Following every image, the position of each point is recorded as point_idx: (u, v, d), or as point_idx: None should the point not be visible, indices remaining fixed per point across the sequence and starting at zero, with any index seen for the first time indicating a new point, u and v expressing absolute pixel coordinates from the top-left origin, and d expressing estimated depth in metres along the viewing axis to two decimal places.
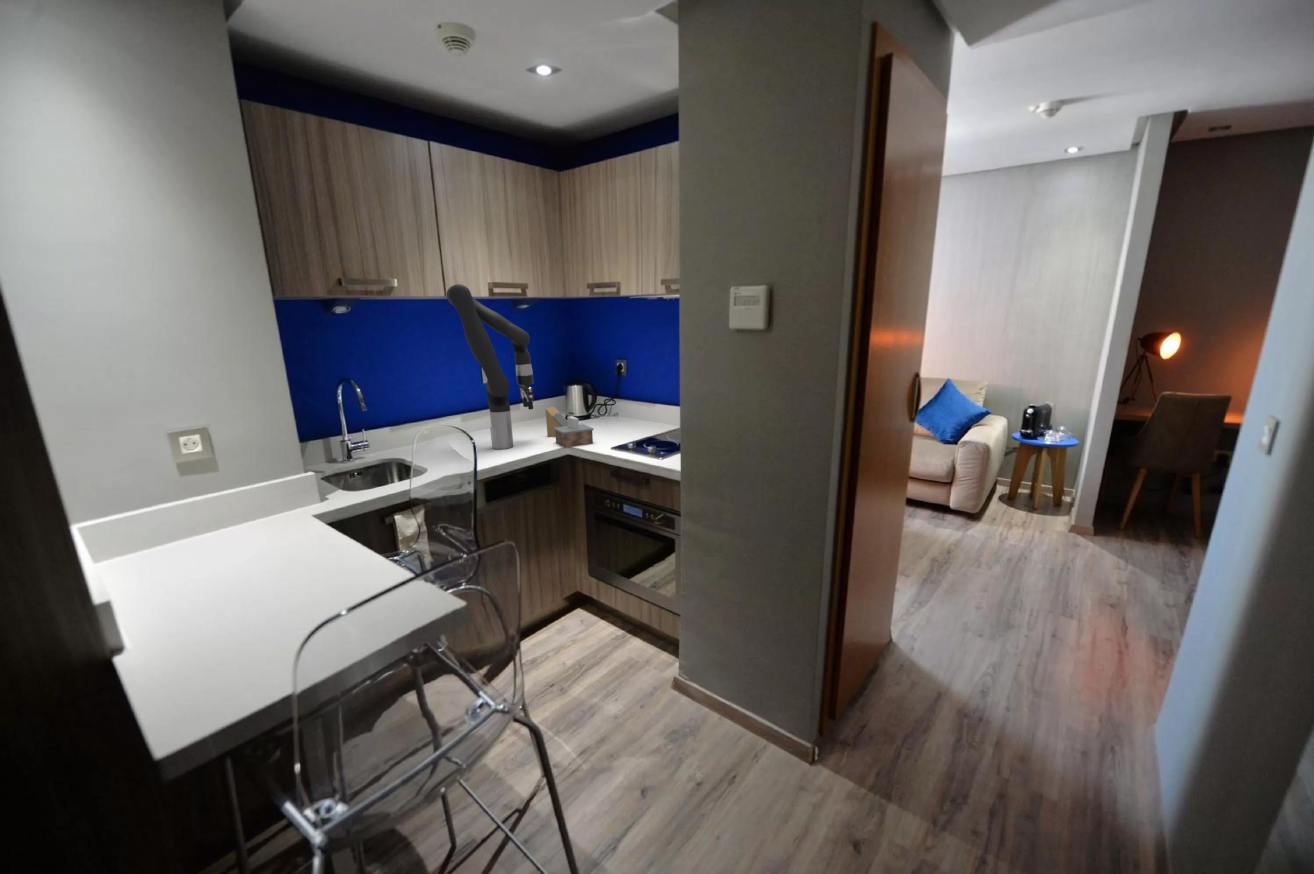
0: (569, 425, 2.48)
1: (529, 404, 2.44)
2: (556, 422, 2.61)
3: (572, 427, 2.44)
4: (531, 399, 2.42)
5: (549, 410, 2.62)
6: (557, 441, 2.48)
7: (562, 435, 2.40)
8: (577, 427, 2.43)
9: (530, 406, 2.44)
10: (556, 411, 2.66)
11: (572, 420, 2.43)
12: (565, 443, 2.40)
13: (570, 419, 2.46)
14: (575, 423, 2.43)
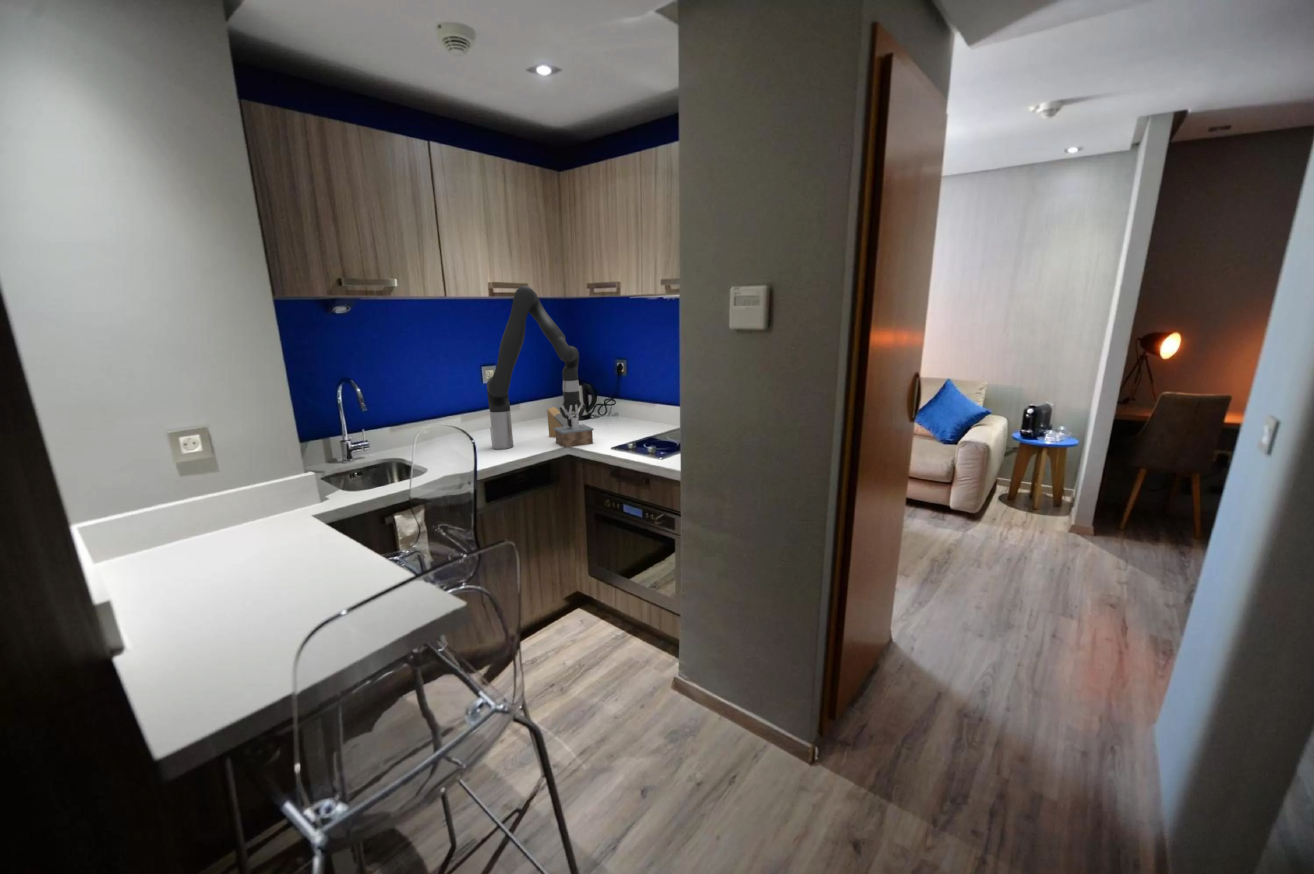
0: None
1: (578, 421, 2.47)
2: (558, 422, 2.60)
3: (572, 427, 2.44)
4: None
5: (551, 410, 2.61)
6: (557, 441, 2.48)
7: (562, 435, 2.40)
8: (577, 427, 2.43)
9: (578, 422, 2.47)
10: (557, 411, 2.65)
11: (572, 420, 2.43)
12: (565, 443, 2.40)
13: None
14: (575, 423, 2.43)
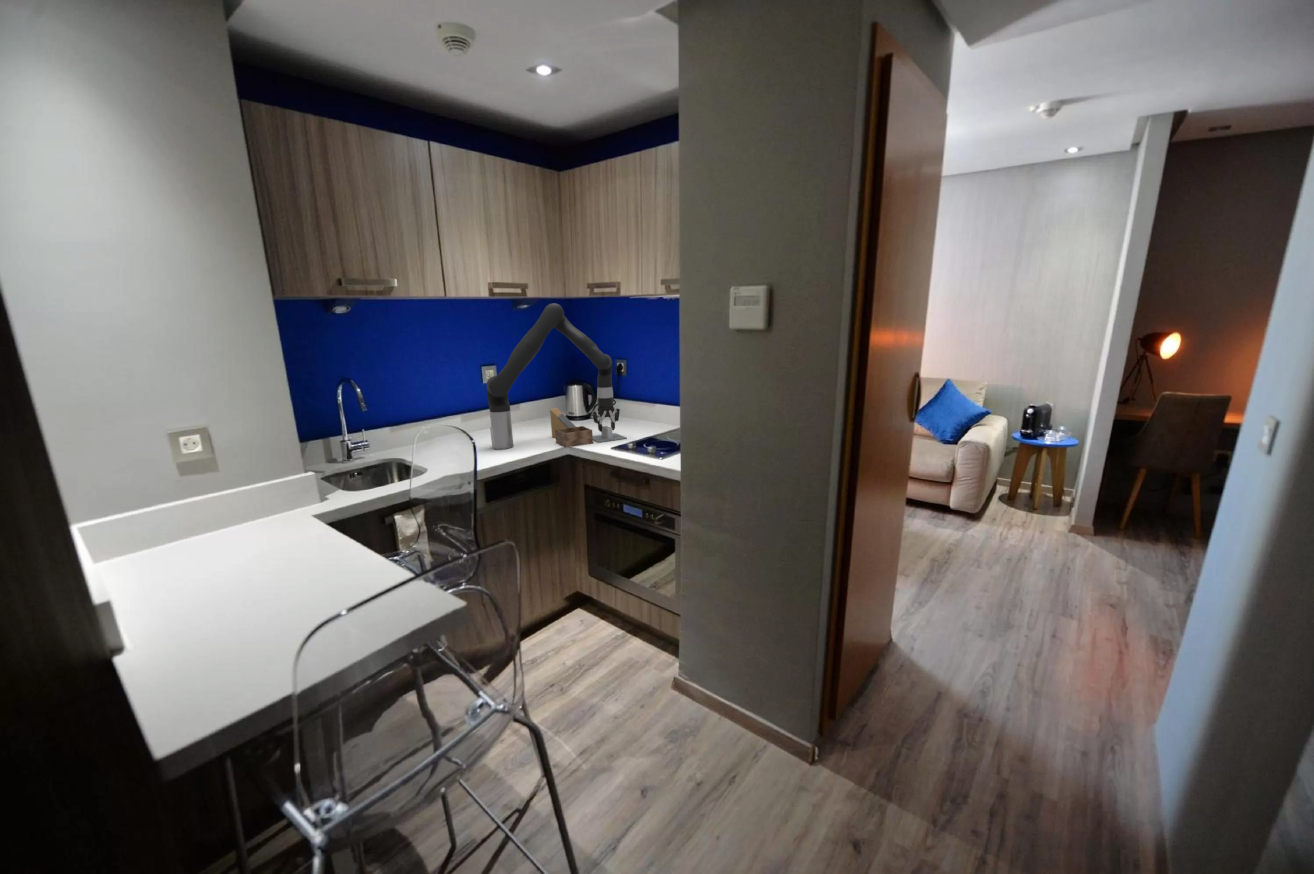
0: (603, 434, 2.57)
1: (614, 424, 2.56)
2: (561, 423, 2.58)
3: (606, 436, 2.54)
4: None
5: (553, 411, 2.59)
6: (557, 441, 2.48)
7: (562, 435, 2.40)
8: (611, 436, 2.53)
9: (614, 426, 2.57)
10: (560, 412, 2.64)
11: (606, 429, 2.52)
12: (565, 443, 2.40)
13: (604, 429, 2.55)
14: (609, 432, 2.52)
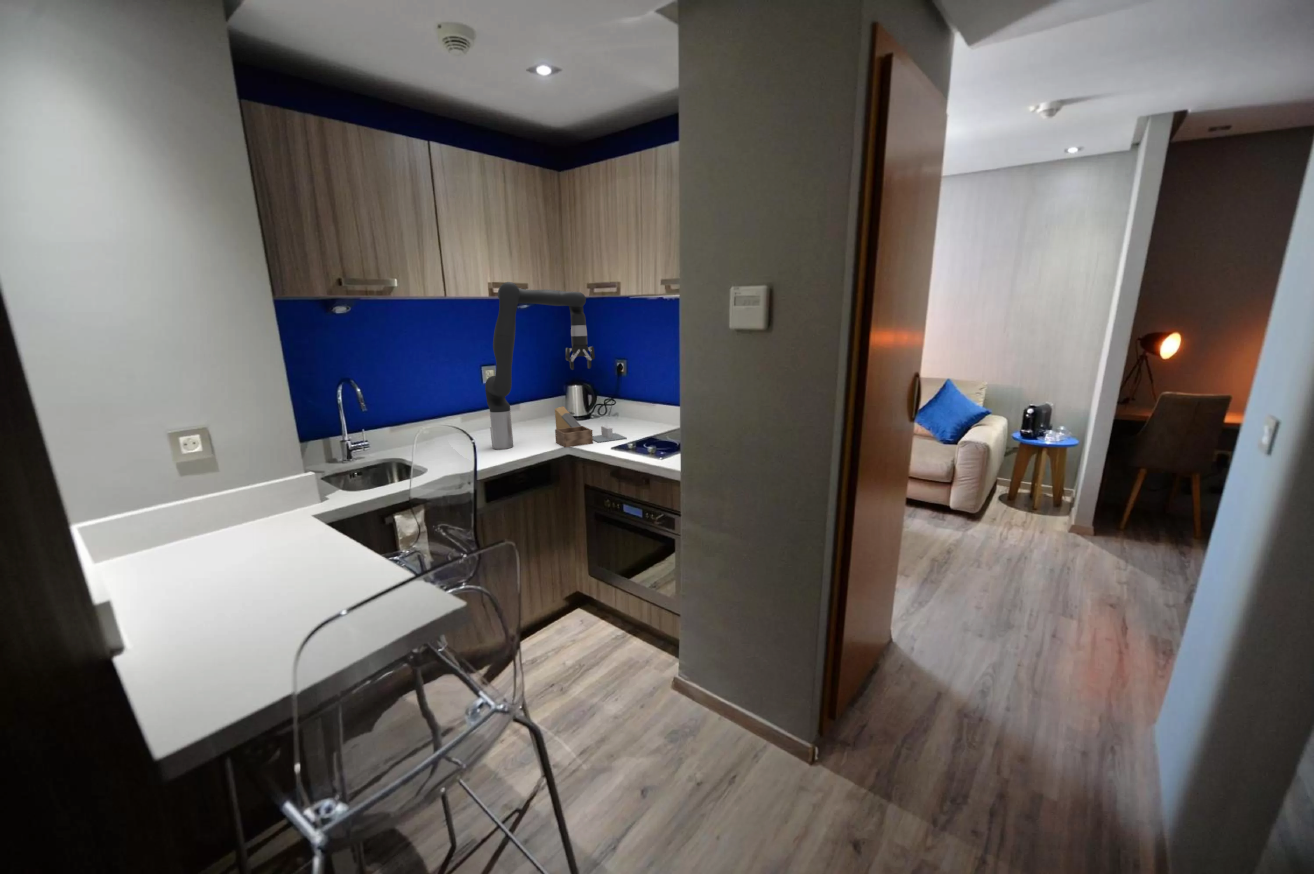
0: (603, 434, 2.57)
1: None
2: (565, 422, 2.61)
3: (606, 436, 2.54)
4: None
5: (558, 410, 2.62)
6: (557, 441, 2.48)
7: (562, 435, 2.40)
8: (611, 436, 2.53)
9: None
10: (566, 411, 2.66)
11: (606, 430, 2.52)
12: (565, 443, 2.40)
13: (604, 429, 2.55)
14: (609, 432, 2.52)
